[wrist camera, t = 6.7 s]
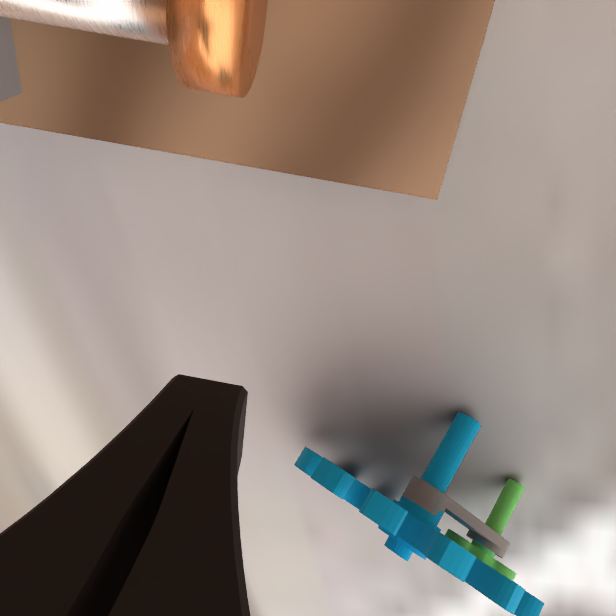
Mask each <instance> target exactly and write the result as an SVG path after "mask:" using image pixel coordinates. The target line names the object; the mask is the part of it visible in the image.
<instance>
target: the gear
mask: <svg viewBox="0 0 616 616" xmlns="http://www.w3.org/2000/svg"><path fill="white" fill-rule="evenodd" d="M480 427H481V425H480V424H479V423H478V422H477V421H476V420H474V419H473V418H471V417H469V416H467V415H465V414H463V413H457V415H456V417H455V418H454V420H453V422H452V424H451V426H450V427H449V429H448V431H447V433H446V435H445V436H444V438H443V440H442V442H441V444H440V445H439V447H438V449H437V451H436V453H435V454H434V456H433V458H432V460H431V462H430V463H429V465H428V467H427V469H426V471H425V472H424V474H423V476H422V478H421V479H420V478H418V477H416V476H413V477H412V479H411V481H410V483H409V485H408V486H407V488H406V490H405V492H404V493H403V495H402V497H401V499H400V501H399V502H398V501H396V500H395V499H394V500H393V501H391V500H390V499H388V498H387V497H385V496H384V495H382V494H380V493H379V492H377V491H376V490H374V489H372V490H371V489H370V488H368V487H367V486H365V485H364V484H362V483H361V482H359V481H358V480H356V479H355V478H354V477H353V476H352V475H350V474H349V473H347V472H346V471H344V470H343V469H341V468H340V467H338V466H336V465H335V464H333V463H332V462H330V461H329V460H327V459H325V458H324V457H323V458H322V457H321V456H319V455H318V454H316V453H315V452H313V451H312V450H310V449H308V448H307V447H305V448H304V450H303V452H302V453H301V455H300V456H299V458H298V460H297V461H296V463H295V464H294V465H295V466H296V467H298V468H299V469H300V470H302V471H303V472H305V473H306V474H308V475H309V476H311V478H312V479H313V480H315V481H316V482H318V483H319V484H321V485H322V486H323V487H325V488H326V489H328V490H329V491H331V492H332V493H334V494H335V495H337V496H338V497H340V498H342V499H344V500H346V501H347V502H349V503H350V504H352V505H353V506H355V507H356V508H358V509H359V510H360V511H359V512H361V513H362V514H363V515H365V516H366V517H368V518H369V519H371V520H372V521H374V522H375V523H377V524H378V525H379V527H378V528H379V529H381V530H382V531H383V532H385V533H386V534H388V535H389V537H388V539H387V541H386V543H385V546H386V547H387V548H389V549H390V550H391V551H393V552H394V553H396V554H397V555H399V556H400V557H402V558H403V559H405V560H406V561H408V560H409V558H410V556H411V554H412V553H413V552H414V553H415V554H417V555H419V556H420V557H422V558H423V559H426V557H427V558H428V559H430V560H431V561H433V562H434V563H436V564H437V565H438V566H440V567H441V568H443V569H444V570H446V571H448V572H449V573H451V574H452V575H454V576H455V577H457V578H458V579H460V580H461V581H463V582H464V581H465V582H466V583H468V584H469V585H471V586H472V587H474V588H475V589H476V590H478V591H479V592H481V593H482V594H483V595H485V596H486V597H488V598H489V599H491V600H492V601H493V602H495V603H496V604H498V605H499V606H501V607H502V608H504V609H505V610H507V611H508V612H510V613H512V614H515V615H517V616H539V614H540V612H541V609H542V607H543V605H544V603H543V602H541V601H540V600H538V599H537V598H535V597H534V596H532V595H531V594H529V593H528V592H526V591H525V589H523V588H522V587H521V586H519V585H518V584H516V583H515V582H513V579H514V577H515V575H516V573H515V572H514V571H512V570H511V569H509V568H508V567H506V566H505V565H503V564H501V563H500V562H498V561H497V560H495V559H494V558H493V557H494V555H497V556H499V557H501V558H503V556H504V554H505V552H506V550H507V548H508V546H509V544H510V543H509V542H508V541H507V540H506V539H504V538H503V537H502V536H501V534H502V532H503V530H504V528H505V526H506V524H507V522H508V520H509V518H510V516H511V514H512V512H513V510H514V508H515V506H516V504H517V502H518V500H519V498H520V496H521V494H522V492H523V490H524V486H522V485H521V484H519V483H518V482H516V481H514V480H512V479H508V480H507V482H506V484H505V486H504V488H503V490H502V492H501V494H500V496H499V498H498V500H497V502H496V504H495V506H494V508H493V509H492V511H491V513H490V515H489V517H488V519H487V521H486V523H485V524H484V523H483V522H482V521H480V520H479V519H478V518H476V517H475V516H474V515H472V514H471V513H470V512H468V511H467V510H466V509H464V508H463V507H462V506H461V505H459V504H458V503H457V502H455V501H454V500H453V499H451V498H450V497H449V496H447V495H446V494H444V493H445V491H446V490H447V488H448V486H449V484H450V482H451V480H452V479H453V477H454V475H455V473H456V471H457V469H458V467H459V466H460V464H461V462H462V460H463V458H464V456H465V454H466V453H467V451H468V449H469V447H470V445H471V443H472V441H473V440H474V438H475V436H476V434H477V432H478V430H479V429H480ZM444 512H446V513H447V514H449V515H450V516H451V517H453V518H454V519H455V520H457V521H458V522H460V523H461V524H462V525H464V526H465V527H467V528H468V529H469V531H468V533H467V536H468V537H469V538H471V539H472V540H473V541H472V543H470V542H469V541H467V540H466V539H464V538H463V537H461V536H460V535H458V534H456V533H455V532H453V531H452V530H450V529H448V531H447V533H446V534H445V535H443V534H441V533H440V531H441V529H439V528H438V527H437V524H438V523H439V521H440V519H441V517H442V515H443V513H444Z"/></svg>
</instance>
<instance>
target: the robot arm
mask: <svg viewBox="0 0 616 616" xmlns="http://www.w3.org/2000/svg"><path fill="white" fill-rule="evenodd" d="M247 394H248V392H247V391H246V390H245V389H244V387H243V386H239V385H233V384H228V383H223V382H217V381H212V380H207V379H201V378H196V377H190V376H185V375H180V374H179V375H177V376H175V377H173V378H172V379H171V381H170V382H169V383H168V384H167V385H166V386H165V387H164V388H163V389H162V390H161V391H160V393H159V394H158V395H157V396H156V397H155V398H154V399H153V400H152V401H151V402H150V403H149V404H148V405H147V406H146V407H145V408H144V409H143V410H142V411H141V412H140V413H139V414H138V415H137V416H136V417H135V418H134V419H133V420H132V421H131V422H130V423H129V424H128V425H127V426H126V427H125V428H124V429H123V430H122V431H121V432H120V433H119V434H118V435H117V436H116V437H115V438H114V439H113V440H112V441H110V442H109V443H108V444H107V445H106V446H105V447H104V448H103V449H102V450H101V451H100V452H99V453H98V454H97V455H96V456H94V457H93V458H92V459H91V460H90V461H89V462H88V463H87V464H86V465H84V466H83V467H82V468H81V469H80V470H78V471H77V472H76V473H75V474H74V475H73V476H71V477H70V478H69V479H68V480H67V481H66V482H64V483H63V484H62V485H61V486H60V487H59V488H57V489H56V490H55V491H54V492H53V493H52V494H50V495H49V496H48V497H47V498H46V499H44V500H43V501H42V502H41V503H39V504H38V505H37V506H36V507H34V508H33V509H32V510H31V511H29V512H28V513H27V514H25V515H24V516H23V517H22V518H20V519H19V520H18V521H16V522H15V523H14V524H12V525H11V526H10V527H8V528H7V529H6V530H4V531H3V532H2V533H0V616H250V611H249V605H248V598H247V591H246V583H245V575H244V568H243V559H242V549H241V539H240V526H239V512H238V491H237V476H238V471H239V466H240V462H241V457H242V448H243V437H244V426H245V416H246V405H247Z"/></svg>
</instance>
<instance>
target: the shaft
mask: <svg viewBox="0 0 616 616" xmlns="http://www.w3.org/2000/svg"><path fill="white" fill-rule="evenodd" d="M267 4H268V0H0V16H1V17H7V18H13V19H18V20H24V21H30V22H36V23H42V24H48V25H54V26H60V27H65V28H71V29H77V30H83V31H89V32H95V33H101V34H106V35H112V36H118V37H124V38H130V39H136V40H142V41H148V42H153V43H159V44H165V45H169V50H170V56H171V60H172V64H173V67H174V70H175V73H176V75H177V78H178V80H179V81H180V83H181V84H182V85H183V86H184V87H185V88H188V89H193V90H199V91H205V92H211V93H216V94H222V95H228V96H234V97H240V98H244V97H245V96H246V95H247V94H248V92H249V90H250V88H251V86H252V84H253V81H254V78H255V75H256V71H257V67H258V63H259V59H260V54H261V49H262V43H263V37H264V30H265V23H266V14H267Z"/></svg>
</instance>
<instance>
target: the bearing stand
mask: <svg viewBox="0 0 616 616" xmlns="http://www.w3.org/2000/svg"><path fill="white" fill-rule="evenodd" d="M494 2H495V0H268V4H267V14H266V23H265V30H264V37H263V43H262V49H261V54H260V59H259V63H258V67H257V71H256V75H255V78H254V81H253V84H252V86H251V88H250V90H249V92H248V94H247V95H246V96H245V97H244V98H240V97H234V96H228V95H222V94H216V93H211V92H205V91H199V90H193V89H188V88H185V87H184V86H183V85H182V84H181V83H180V81H179V80H178V78H177V75H176V73H175V70H174V67H173V64H172V60H171V56H170V50H169V45H165V44H159V43H153V42H148V41H142V40H136V39H130V38H124V37H118V36H112V35H106V34H101V33H95V32H89V31H83V30H77V29H71V28H65V27H60V26H54V25H48V24H42V23H36V22H30V21H24V20H18V19H13V18H7V17H1V16H0V123H5V124H11V125H17V126H22V127H28V128H34V129H39V130H45V131H51V132H56V133H62V134H68V135H73V136H79V137H85V138H90V139H96V140H102V141H107V142H113V143H119V144H124V145H130V146H136V147H141V148H147V149H153V150H158V151H164V152H170V153H175V154H181V155H187V156H192V157H198V158H204V159H209V160H215V161H221V162H226V163H232V164H238V165H243V166H249V167H255V168H260V169H266V170H272V171H277V172H283V173H289V174H294V175H300V176H306V177H311V178H317V179H323V180H328V181H334V182H340V183H345V184H351V185H357V186H362V187H368V188H374V189H379V190H385V191H391V192H396V193H402V194H408V195H413V196H419V197H425V198H430V199H436V200H437V199H438V195H439V192H440V188H441V185H442V181H443V178H444V175H445V171H446V168H447V164H448V161H449V157H450V154H451V150H452V147H453V144H454V140H455V137H456V133H457V130H458V126H459V123H460V119H461V116H462V112H463V109H464V106H465V102H466V99H467V95H468V92H469V88H470V85H471V81H472V78H473V75H474V71H475V68H476V64H477V61H478V57H479V54H480V50H481V47H482V44H483V40H484V37H485V33H486V30H487V26H488V23H489V19H490V16H491V13H492V9H493V6H494Z"/></svg>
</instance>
